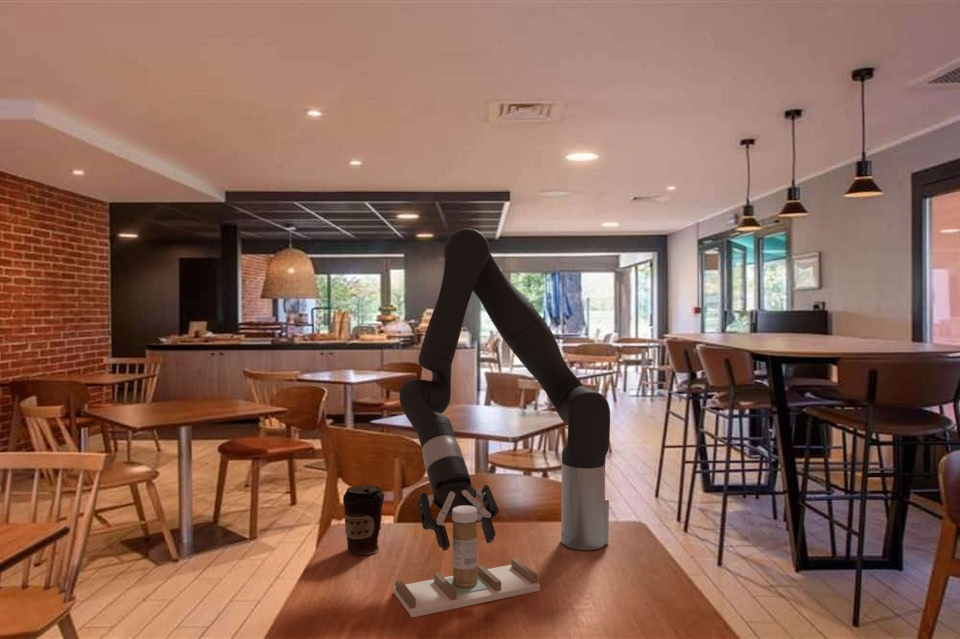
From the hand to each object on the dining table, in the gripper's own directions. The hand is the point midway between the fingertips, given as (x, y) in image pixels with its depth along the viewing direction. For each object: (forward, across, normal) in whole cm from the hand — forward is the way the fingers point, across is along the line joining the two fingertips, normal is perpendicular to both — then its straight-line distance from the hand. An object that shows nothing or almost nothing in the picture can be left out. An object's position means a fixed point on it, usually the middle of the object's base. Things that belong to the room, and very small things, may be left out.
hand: (469, 544), depth 112 cm
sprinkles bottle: (+4, 0, +6) cm, 8 cm away
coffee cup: (-13, -12, +25) cm, 31 cm away
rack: (+5, 0, +7) cm, 9 cm away
